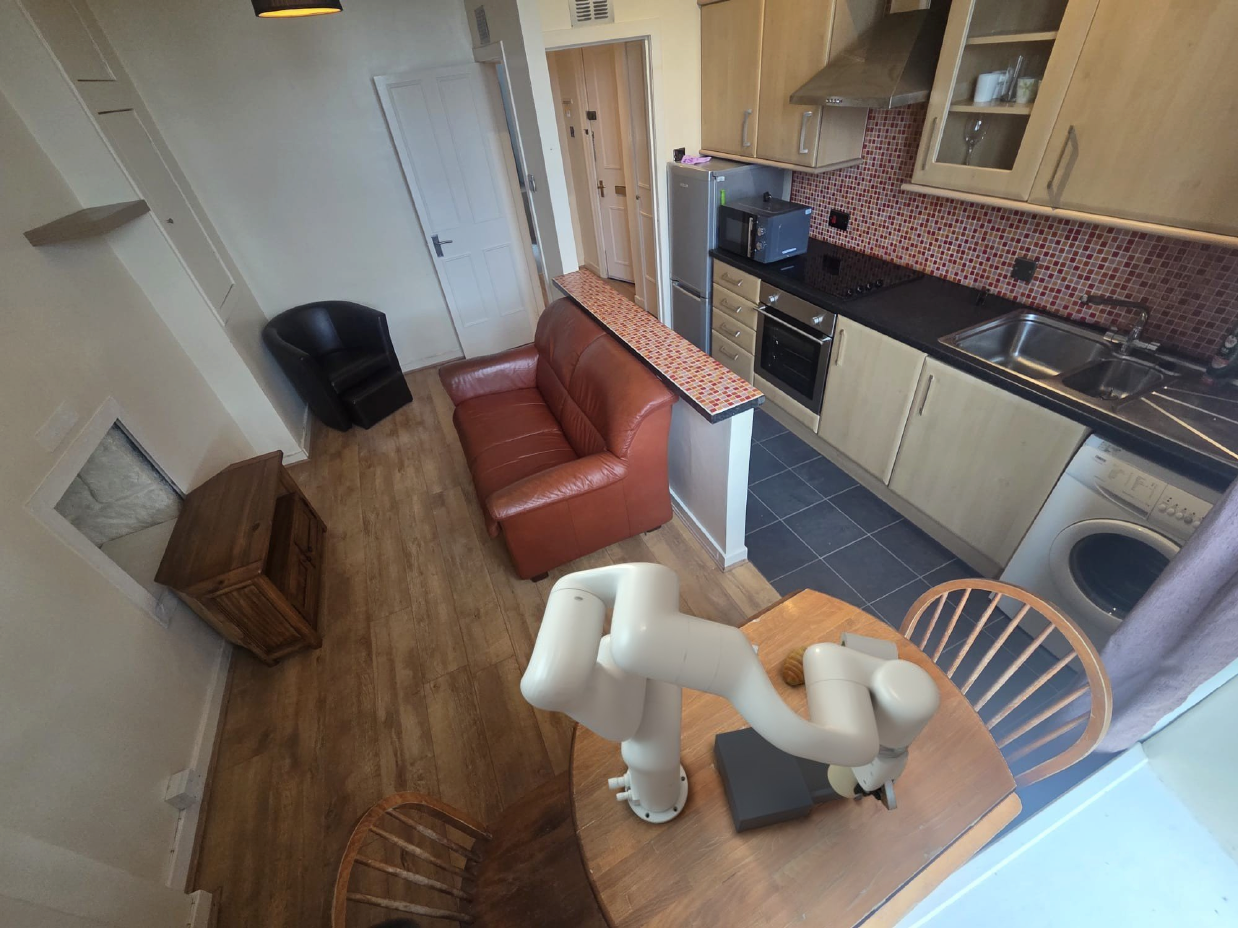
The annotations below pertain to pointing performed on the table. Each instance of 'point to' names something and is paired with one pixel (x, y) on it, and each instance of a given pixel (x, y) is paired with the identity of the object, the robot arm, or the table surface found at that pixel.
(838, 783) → the paper roll
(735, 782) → the cabinet
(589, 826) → the table surface
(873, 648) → the toilet paper
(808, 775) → the drawer
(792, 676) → the pastry
